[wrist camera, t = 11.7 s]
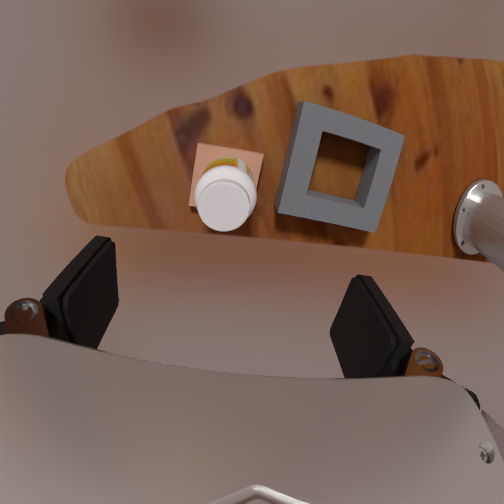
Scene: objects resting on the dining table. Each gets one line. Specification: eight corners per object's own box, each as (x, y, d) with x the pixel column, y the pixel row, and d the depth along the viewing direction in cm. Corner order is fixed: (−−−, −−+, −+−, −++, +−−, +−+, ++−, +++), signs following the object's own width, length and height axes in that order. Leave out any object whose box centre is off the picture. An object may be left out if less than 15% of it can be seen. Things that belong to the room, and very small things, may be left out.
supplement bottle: (193, 187, 30) (175, 217, 21) (220, 145, 28) (212, 158, 20) (234, 212, 32) (233, 252, 23) (262, 173, 30) (273, 198, 21)
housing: (391, 133, 29) (404, 135, 26) (365, 223, 34) (375, 232, 31) (297, 102, 27) (304, 101, 25) (274, 204, 33) (277, 212, 30)
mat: (262, 153, 30) (263, 154, 29) (250, 212, 33) (250, 215, 32) (199, 142, 29) (197, 143, 28) (190, 202, 32) (188, 205, 31)
